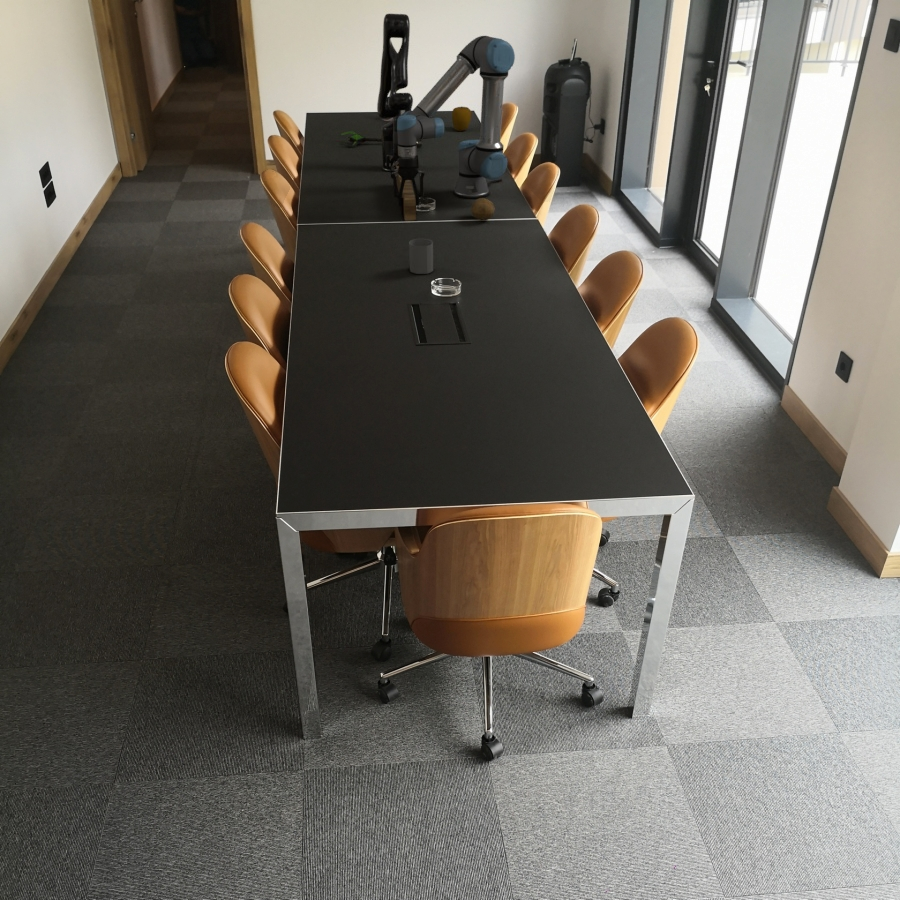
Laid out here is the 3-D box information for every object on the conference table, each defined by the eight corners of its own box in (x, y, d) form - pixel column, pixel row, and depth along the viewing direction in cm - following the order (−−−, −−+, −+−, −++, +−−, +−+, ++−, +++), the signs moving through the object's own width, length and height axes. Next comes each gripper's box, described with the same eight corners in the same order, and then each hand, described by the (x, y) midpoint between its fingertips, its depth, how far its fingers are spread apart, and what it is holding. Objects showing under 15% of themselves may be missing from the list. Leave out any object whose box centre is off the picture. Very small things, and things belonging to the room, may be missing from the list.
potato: (492, 213, 362) (492, 194, 358) (496, 224, 351) (496, 204, 346) (468, 214, 362) (469, 194, 358) (472, 224, 350) (472, 205, 346)
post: (396, 185, 398) (396, 166, 393) (407, 185, 399) (406, 165, 394) (404, 220, 355) (404, 199, 350) (416, 220, 355) (415, 199, 351)
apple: (471, 132, 486) (471, 108, 479) (451, 132, 486) (451, 108, 479) (470, 128, 495) (471, 104, 488) (452, 128, 495) (452, 104, 488)
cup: (409, 265, 311) (408, 238, 306) (432, 265, 312) (431, 238, 307) (410, 274, 304) (409, 246, 299) (433, 273, 305) (433, 246, 299)
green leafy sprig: (396, 128, 464) (339, 126, 462) (395, 143, 457) (338, 141, 454) (395, 137, 469) (340, 135, 466) (395, 153, 462) (339, 151, 459)
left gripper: (386, 143, 377) (387, 181, 386) (418, 142, 378) (419, 180, 387) (385, 139, 383) (386, 176, 392) (417, 138, 385) (417, 175, 393)
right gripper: (386, 159, 344) (388, 217, 357) (430, 158, 346) (431, 215, 359) (385, 154, 351) (387, 211, 363) (428, 153, 352) (429, 210, 365)
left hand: (402, 178), depth 389 cm, fingers open, 8 cm apart
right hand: (409, 213), depth 361 cm, fingers closed on post, 5 cm apart
